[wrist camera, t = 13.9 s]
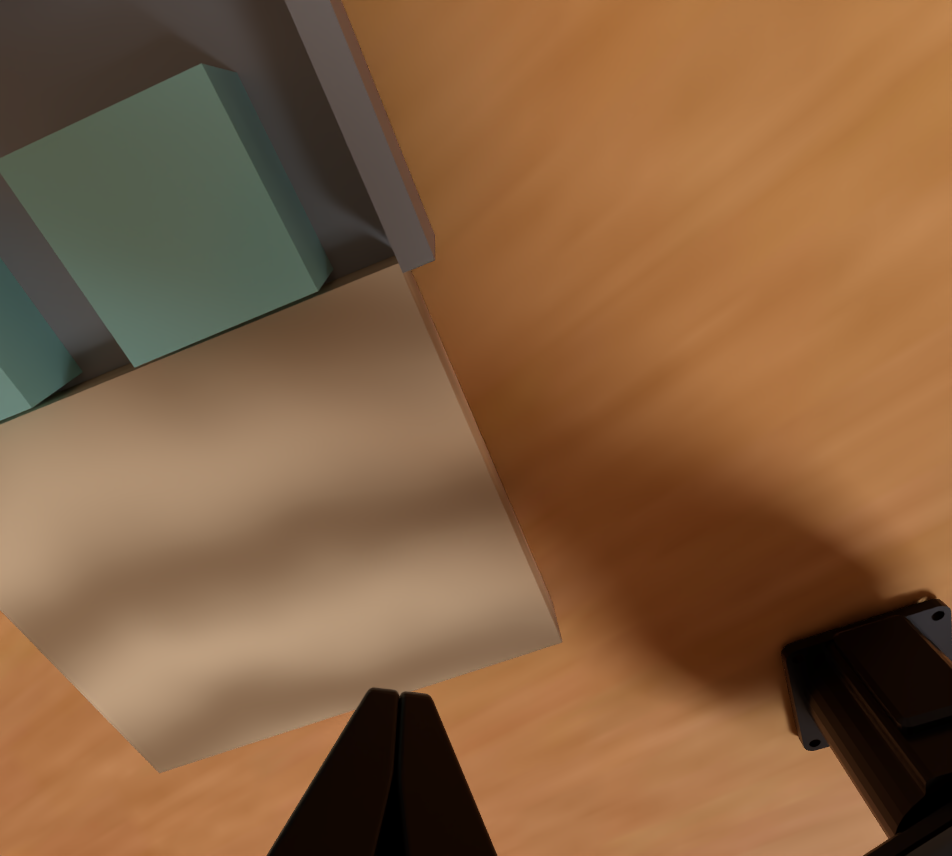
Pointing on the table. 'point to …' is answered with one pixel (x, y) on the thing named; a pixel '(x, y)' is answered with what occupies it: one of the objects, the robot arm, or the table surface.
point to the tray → (272, 95)
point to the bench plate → (266, 526)
